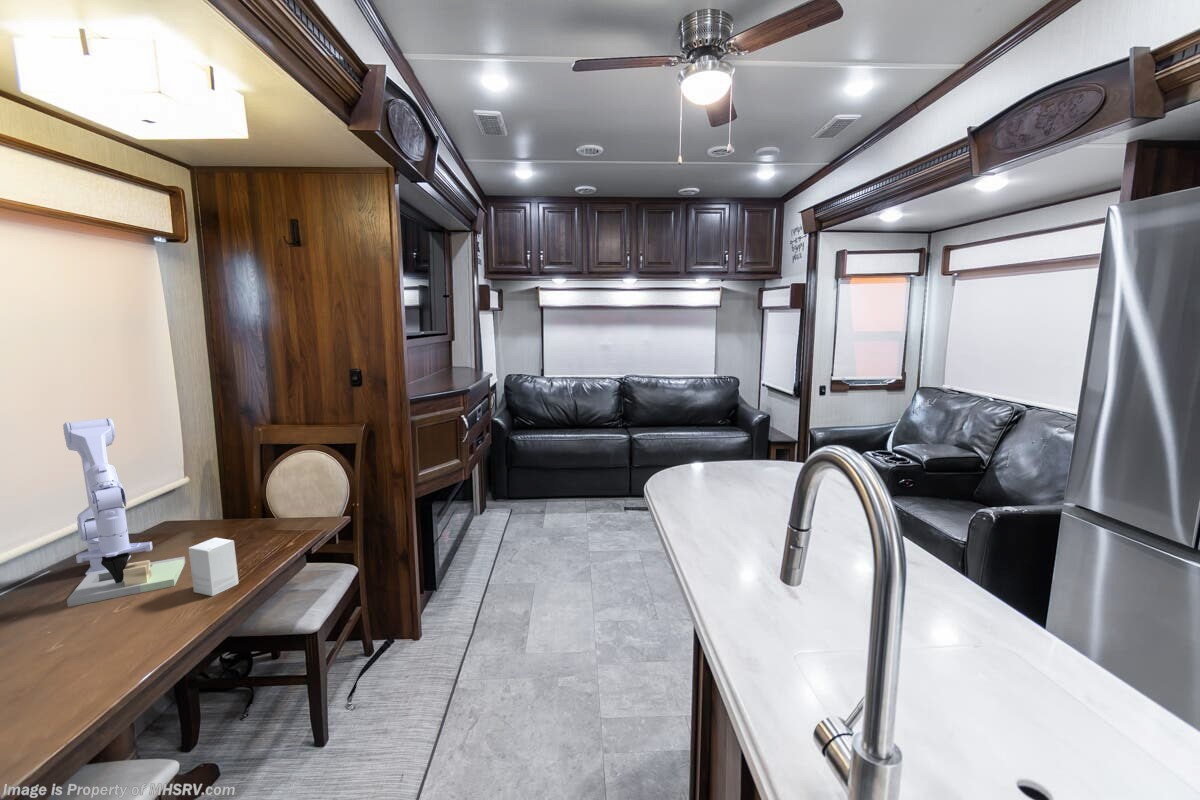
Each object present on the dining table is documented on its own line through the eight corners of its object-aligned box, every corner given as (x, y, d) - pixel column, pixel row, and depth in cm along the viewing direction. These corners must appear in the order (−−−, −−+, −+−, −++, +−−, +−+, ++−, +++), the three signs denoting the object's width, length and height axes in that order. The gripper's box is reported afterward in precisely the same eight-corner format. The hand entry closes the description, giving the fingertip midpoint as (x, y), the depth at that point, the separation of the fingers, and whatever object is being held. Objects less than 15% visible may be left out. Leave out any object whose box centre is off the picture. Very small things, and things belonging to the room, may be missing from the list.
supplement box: (239, 583, 141) (235, 540, 139) (212, 597, 134) (206, 551, 132) (220, 579, 143) (216, 536, 142) (192, 592, 136) (187, 547, 135)
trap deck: (89, 580, 143) (88, 573, 142) (185, 562, 153) (184, 556, 153) (68, 607, 129) (66, 599, 129) (174, 585, 140) (173, 579, 139)
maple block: (129, 579, 139) (127, 563, 138) (151, 575, 141) (149, 559, 141) (125, 586, 135) (123, 570, 135) (147, 582, 138) (145, 566, 137)
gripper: (68, 544, 127) (76, 595, 129) (145, 532, 135) (151, 581, 137) (79, 534, 133) (86, 583, 135) (151, 523, 141) (157, 570, 143)
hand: (119, 581), depth 136 cm, fingers closed
